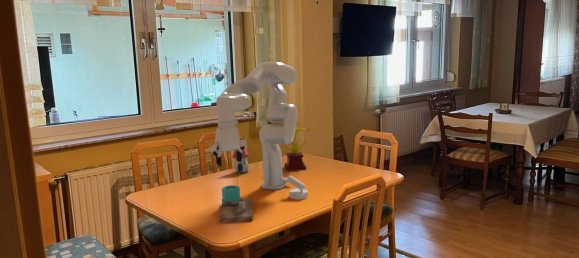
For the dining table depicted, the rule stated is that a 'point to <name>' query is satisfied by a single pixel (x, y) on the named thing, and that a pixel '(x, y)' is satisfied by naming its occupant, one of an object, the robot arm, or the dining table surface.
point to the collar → (231, 193)
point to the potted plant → (295, 154)
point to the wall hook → (297, 193)
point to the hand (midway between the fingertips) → (229, 163)
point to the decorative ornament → (241, 163)
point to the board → (236, 210)
